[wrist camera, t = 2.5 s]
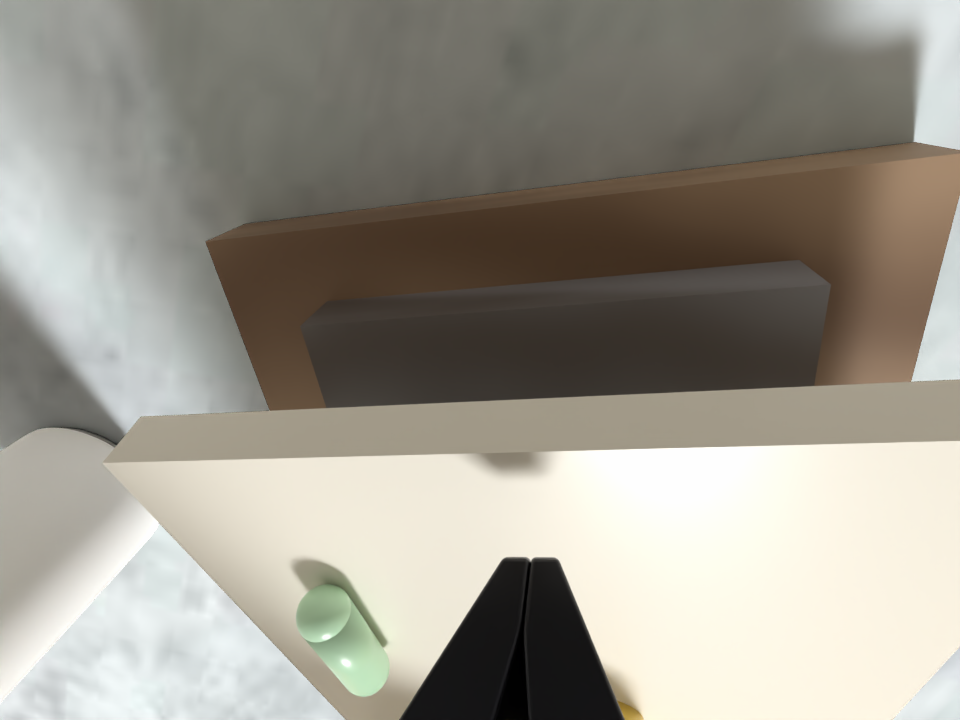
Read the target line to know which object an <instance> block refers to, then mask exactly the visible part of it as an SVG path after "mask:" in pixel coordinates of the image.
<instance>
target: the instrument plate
mask: <svg viewBox="0 0 960 720" xmlns="http://www.w3.org/2000/svg"><path fill="white" fill-rule="evenodd" d="M102 464H103V465H104V466H105V467H106V468H107V469H108V470H109V471H110V472H111V473H112V474H113V475H114V476H115V477H116V478H117V479H118V480H119V481H120V482H121V484H122V485H123V486H124V487H125V488H126V489H127V490H128V491H129V492H130V493H131V494H132V495H133V496H134V497H135V498H136V499H137V500H138V501H139V502H140V504H141V505H142V506H143V507H144V508H145V509H146V510H147V511H148V512H149V513H150V514H151V515H152V516H153V517H154V518H155V519H156V520H157V521H158V522H159V524H160V525H161V526H162V527H163V528H164V529H165V530H166V531H167V532H168V533H169V534H170V535H171V536H172V537H173V538H174V539H175V540H176V541H177V542H178V544H179V545H180V546H181V547H182V548H183V549H184V550H185V551H186V552H187V553H188V554H189V555H190V556H191V557H192V558H193V559H194V560H195V561H196V563H197V564H198V565H199V566H200V567H201V568H202V569H203V570H204V571H205V572H206V573H207V574H208V575H209V576H210V577H211V578H212V579H213V580H214V581H215V583H216V584H217V585H218V586H219V587H220V588H221V589H222V590H223V591H224V592H225V593H226V594H227V595H228V596H229V597H230V598H231V599H232V600H233V601H234V603H235V604H236V605H237V606H238V607H239V608H240V609H241V610H242V611H243V612H244V613H245V614H246V615H247V616H248V617H249V618H250V619H251V620H252V621H253V623H254V624H255V625H256V626H257V627H258V628H259V629H260V630H261V631H262V632H263V633H264V634H265V635H266V636H267V637H268V638H269V639H270V640H271V641H272V643H273V644H274V645H275V646H276V647H277V648H278V649H279V650H280V651H281V652H282V653H283V654H284V655H285V656H286V657H287V658H288V659H289V660H290V662H291V663H292V664H293V665H294V666H295V667H296V668H297V669H298V670H299V671H300V672H301V673H302V674H303V675H304V676H305V677H306V678H307V679H308V680H309V682H310V683H311V684H312V685H313V686H314V687H315V688H316V689H317V690H318V691H319V692H320V693H321V694H322V695H323V696H324V697H325V698H326V699H327V700H328V702H329V703H330V704H331V705H332V706H333V707H334V708H335V709H336V710H337V711H338V712H339V713H340V714H341V715H342V716H343V717H344V718H345V719H346V720H399V719H400V717H401V716H402V714H403V713H404V711H405V710H406V708H407V706H408V705H409V703H410V702H411V700H412V699H413V697H414V695H415V694H416V692H417V691H418V689H419V688H420V686H421V685H422V683H423V681H424V680H425V678H426V677H427V675H428V674H429V672H430V671H431V669H432V667H433V666H434V664H435V663H436V661H437V660H438V658H439V657H440V655H441V653H442V652H443V650H444V649H445V647H446V646H447V644H448V643H449V641H450V639H451V638H452V636H453V635H454V633H455V632H456V630H457V629H458V627H459V625H460V624H461V622H462V621H463V619H464V618H465V616H466V615H467V613H468V611H469V610H470V608H471V607H472V605H473V604H474V602H475V601H476V599H477V597H478V596H479V594H480V593H481V591H482V590H483V588H484V586H485V585H486V583H487V582H488V580H489V579H490V577H491V576H492V574H493V572H494V571H495V569H496V568H497V566H498V565H499V563H500V562H501V560H502V559H503V558H505V557H527V558H529V559H530V560H532V559H533V558H534V557H555V558H557V559H558V560H559V561H560V563H561V566H562V568H563V570H564V573H565V575H566V578H567V580H568V583H569V585H570V587H571V590H572V592H573V595H574V597H575V600H576V602H577V604H578V607H579V609H580V612H581V614H582V617H583V619H584V621H585V624H586V626H587V629H588V631H589V634H590V636H591V638H592V641H593V643H594V646H595V648H596V651H597V653H598V655H599V658H600V660H601V663H602V665H603V668H604V670H605V672H606V675H607V677H608V680H609V682H610V685H611V687H612V689H613V692H614V694H615V697H616V699H617V702H618V704H619V706H620V709H621V711H622V714H623V716H624V719H625V720H893V719H894V718H895V716H896V715H897V714H898V713H899V712H900V711H901V710H902V709H903V708H904V707H905V706H906V705H907V703H908V702H909V701H910V700H911V699H912V698H913V697H914V696H915V695H916V694H917V693H918V692H919V690H920V689H921V688H922V687H923V686H924V685H925V684H926V683H927V682H928V681H929V680H930V679H931V678H932V676H933V675H934V674H935V673H936V672H937V671H938V670H939V669H940V668H941V667H942V666H943V665H944V663H945V662H946V661H947V660H948V659H949V658H950V657H951V656H952V655H953V654H954V653H955V652H956V650H957V649H958V648H959V647H960V380H939V381H917V382H895V383H873V384H851V385H828V386H806V387H784V388H762V389H740V390H718V391H696V392H674V393H652V394H630V395H607V396H585V397H563V398H541V399H519V400H497V401H475V402H453V403H431V404H409V405H386V406H364V407H342V408H320V409H298V410H276V411H254V412H232V413H210V414H188V415H165V416H143V417H140V418H139V419H138V421H137V422H136V423H135V424H134V425H133V427H132V428H131V429H130V430H129V431H128V433H127V434H126V435H125V436H124V437H123V439H122V440H121V441H120V442H119V443H118V445H117V446H116V447H115V448H114V449H113V451H112V452H111V453H110V454H109V455H108V457H107V458H106V459H105V460H104V461H103V463H102Z"/></svg>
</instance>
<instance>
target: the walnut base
mask: <svg viewBox="0 0 960 720" xmlns="http://www.w3.org/2000/svg"><path fill="white" fill-rule="evenodd" d="M959 196H960V150H956V149H950V148H944V147H939V146H933V145H928V144H922V143H917V142H912V143H904V144H896V145H888V146H879V147H871V148H863V149H855V150H847V151H838V152H830V153H822V154H814V155H806V156H798V157H789V158H781V159H773V160H765V161H757V162H748V163H740V164H732V165H724V166H716V167H707V168H699V169H691V170H683V171H675V172H666V173H658V174H650V175H642V176H634V177H625V178H617V179H609V180H601V181H593V182H585V183H576V184H568V185H560V186H552V187H544V188H535V189H527V190H519V191H511V192H503V193H494V194H486V195H478V196H470V197H462V198H453V199H445V200H437V201H429V202H421V203H413V204H404V205H396V206H388V207H380V208H372V209H363V210H355V211H347V212H339V213H331V214H322V215H314V216H306V217H298V218H290V219H281V220H273V221H265V222H257V223H249V224H243V225H241V226H239V227H237V228H235V229H232V230H230V231H228V232H226V233H223V234H221V235H219V236H217V237H214V238H212V239H210V240H208V241H206V245H207V247H208V250H209V253H210V255H211V258H212V260H213V263H214V266H215V268H216V271H217V274H218V276H219V279H220V281H221V284H222V287H223V289H224V292H225V295H226V297H227V300H228V302H229V305H230V308H231V310H232V313H233V316H234V318H235V321H236V323H237V326H238V329H239V331H240V334H241V337H242V339H243V342H244V344H245V347H246V350H247V352H248V355H249V357H250V360H251V363H252V365H253V368H254V371H255V373H256V376H257V378H258V381H259V384H260V386H261V389H262V392H263V394H264V397H265V399H266V402H267V405H268V407H269V410H270V411H276V410H298V409H320V408H342V407H364V406H386V405H409V404H431V403H453V402H475V401H497V400H519V399H541V398H563V397H585V396H607V395H630V394H652V393H674V392H696V391H718V390H740V389H762V388H784V387H806V386H828V385H851V384H873V383H895V382H911V380H912V376H913V372H914V368H915V364H916V361H917V357H918V353H919V349H920V345H921V341H922V338H923V334H924V330H925V326H926V322H927V318H928V315H929V311H930V307H931V303H932V299H933V295H934V291H935V288H936V284H937V280H938V276H939V272H940V268H941V265H942V261H943V257H944V253H945V249H946V245H947V242H948V238H949V234H950V230H951V226H952V222H953V219H954V215H955V211H956V207H957V203H958V199H959Z"/></svg>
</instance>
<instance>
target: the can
mask: <svg viewBox="0 0 960 720" xmlns="http://www.w3.org/2000/svg"><path fill="white" fill-rule="evenodd" d="M116 446H117V445H116V444H114V443H113V442H111V441H109V440H107V439H105V438H103V437H101V436H99V435H96V434H93V433H91V432H87V431H84V430H79V429H73V428H43V429H38V430H35V431H33V432H31V433H29V434H27V435H25V436H24V437H22V438H20V439H19V440H17V441H16V442H14V443H12V444H11V445H9V446H8V447H6V448H5V449H3V450H1V451H0V703H1V702H2V701H3V700H4V699H5V698H6V697H7V696H8V695H9V693H10V692H11V691H12V690H13V689H14V688H15V687H16V686H17V685H18V684H19V682H20V681H21V680H22V679H23V678H24V677H25V676H26V675H27V674H28V673H29V671H30V670H31V669H32V668H33V667H34V666H35V665H36V664H37V663H38V661H39V660H40V659H41V658H42V657H43V656H44V655H45V654H46V653H47V652H48V650H49V649H50V648H51V647H52V646H53V645H54V644H55V643H56V642H57V641H58V639H59V638H60V637H61V636H62V635H63V634H64V633H65V632H66V631H67V630H68V628H69V627H70V626H71V625H72V624H73V623H74V622H75V621H76V620H77V619H78V617H79V616H80V615H81V614H82V613H83V612H84V611H85V610H86V609H87V607H88V606H89V605H90V604H91V603H92V602H93V601H94V600H95V599H96V598H97V596H98V595H99V594H100V593H101V592H102V591H103V590H104V589H105V588H106V586H107V585H108V584H109V583H110V582H111V581H112V580H113V579H114V578H115V576H116V575H117V574H118V573H119V572H120V571H121V570H122V569H123V568H124V566H125V565H126V564H127V563H128V562H129V561H130V560H131V559H132V558H133V556H134V555H135V554H136V553H137V552H138V551H139V550H140V549H141V547H142V546H143V545H144V544H145V543H146V542H147V541H148V539H149V538H150V537H151V536H152V535H153V533H154V532H155V531H156V529H157V527H158V525H159V522H158V521H157V520H156V519H155V518H154V517H153V516H152V515H151V514H150V513H149V512H148V511H147V510H146V509H145V508H144V507H143V506H142V505H141V504H140V502H139V501H138V500H137V499H136V498H135V497H134V496H133V495H132V494H131V493H130V492H129V491H128V490H127V489H126V488H125V487H124V486H123V485H122V484H121V482H120V481H119V480H118V479H117V478H116V477H115V476H114V475H113V474H112V473H111V472H110V471H109V470H108V469H107V468H106V467H105V466H104V465H103V464H102V463H103V461H104V460H105V459H106V458H107V457H108V455H109V454H110V453H111V452H112V451H113V449H114V448H115V447H116Z"/></svg>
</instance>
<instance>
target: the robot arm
mask: <svg viewBox="0 0 960 720" xmlns="http://www.w3.org/2000/svg"><path fill="white" fill-rule="evenodd" d="M399 720H625V719H624V716H623V714H622V711H621V709H620V706H619V704H618V702H617V699H616V697H615V694H614V692H613V689H612V687H611V685H610V682H609V680H608V677H607V675H606V672H605V670H604V668H603V665H602V663H601V660H600V658H599V655H598V653H597V651H596V648H595V646H594V643H593V641H592V638H591V636H590V634H589V631H588V629H587V626H586V624H585V621H584V619H583V617H582V614H581V612H580V609H579V607H578V604H577V602H576V600H575V597H574V595H573V592H572V590H571V587H570V585H569V583H568V580H567V578H566V575H565V573H564V570H563V568H562V566H561V563H560V561H559V560H558V559H557V558H555V557H534V558H533V559H532V560H530V559H529V558H527V557H505V558H503V559H502V560H501V562H500V563H499V565H498V566H497V568H496V569H495V571H494V572H493V574H492V576H491V577H490V579H489V580H488V582H487V583H486V585H485V586H484V588H483V590H482V591H481V593H480V594H479V596H478V597H477V599H476V601H475V602H474V604H473V605H472V607H471V608H470V610H469V611H468V613H467V615H466V616H465V618H464V619H463V621H462V622H461V624H460V625H459V627H458V629H457V630H456V632H455V633H454V635H453V636H452V638H451V639H450V641H449V643H448V644H447V646H446V647H445V649H444V650H443V652H442V653H441V655H440V657H439V658H438V660H437V661H436V663H435V664H434V666H433V667H432V669H431V671H430V672H429V674H428V675H427V677H426V678H425V680H424V681H423V683H422V685H421V686H420V688H419V689H418V691H417V692H416V694H415V695H414V697H413V699H412V700H411V702H410V703H409V705H408V706H407V708H406V710H405V711H404V713H403V714H402V716H401V717H400V719H399Z"/></svg>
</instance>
